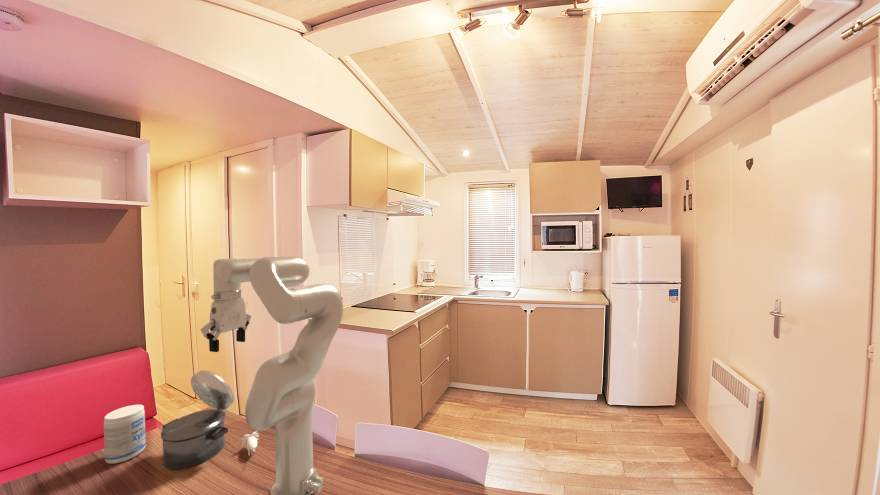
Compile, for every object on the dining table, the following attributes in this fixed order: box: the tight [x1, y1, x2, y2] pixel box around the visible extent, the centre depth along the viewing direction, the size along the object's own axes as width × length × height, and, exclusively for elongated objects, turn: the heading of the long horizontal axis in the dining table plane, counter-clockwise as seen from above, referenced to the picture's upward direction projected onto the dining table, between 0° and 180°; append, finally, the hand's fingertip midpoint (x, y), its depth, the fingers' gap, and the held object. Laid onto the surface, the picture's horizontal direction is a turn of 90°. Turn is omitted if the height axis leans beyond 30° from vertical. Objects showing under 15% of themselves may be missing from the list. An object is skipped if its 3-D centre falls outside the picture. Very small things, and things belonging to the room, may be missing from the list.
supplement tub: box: [103, 404, 147, 465], centre depth 101 cm, size 10×10×15 cm
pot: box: [160, 408, 229, 471], centre depth 102 cm, size 23×18×10 cm
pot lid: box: [190, 370, 235, 410], centre depth 108 cm, size 17×17×3 cm
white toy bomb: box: [241, 430, 260, 456], centre depth 101 cm, size 12×5×5 cm, turn 37°
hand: (228, 346), depth 102 cm, fingers open, 9 cm apart
